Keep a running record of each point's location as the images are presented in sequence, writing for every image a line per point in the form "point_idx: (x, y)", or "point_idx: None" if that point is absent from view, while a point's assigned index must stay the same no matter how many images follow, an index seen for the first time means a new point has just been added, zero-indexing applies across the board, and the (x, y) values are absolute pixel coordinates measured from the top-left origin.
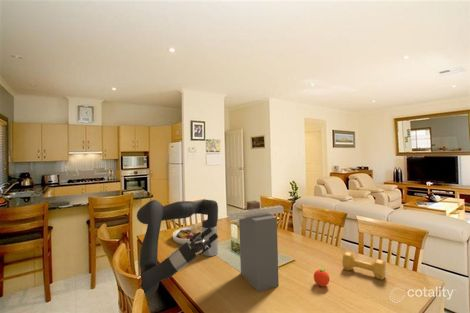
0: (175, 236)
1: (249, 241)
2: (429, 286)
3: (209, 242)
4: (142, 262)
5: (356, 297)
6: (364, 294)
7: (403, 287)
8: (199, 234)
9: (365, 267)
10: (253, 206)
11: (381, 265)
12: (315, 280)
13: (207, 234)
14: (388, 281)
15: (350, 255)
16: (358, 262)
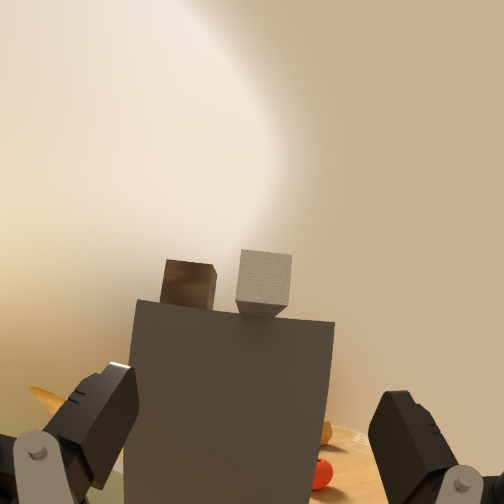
0: None
1: (244, 440)
2: (351, 431)
3: (493, 481)
4: None
5: (365, 472)
6: (358, 465)
7: (348, 441)
8: (20, 481)
9: None
10: (211, 283)
11: (329, 423)
12: (317, 482)
13: (112, 460)
14: (330, 443)
15: None
16: None
